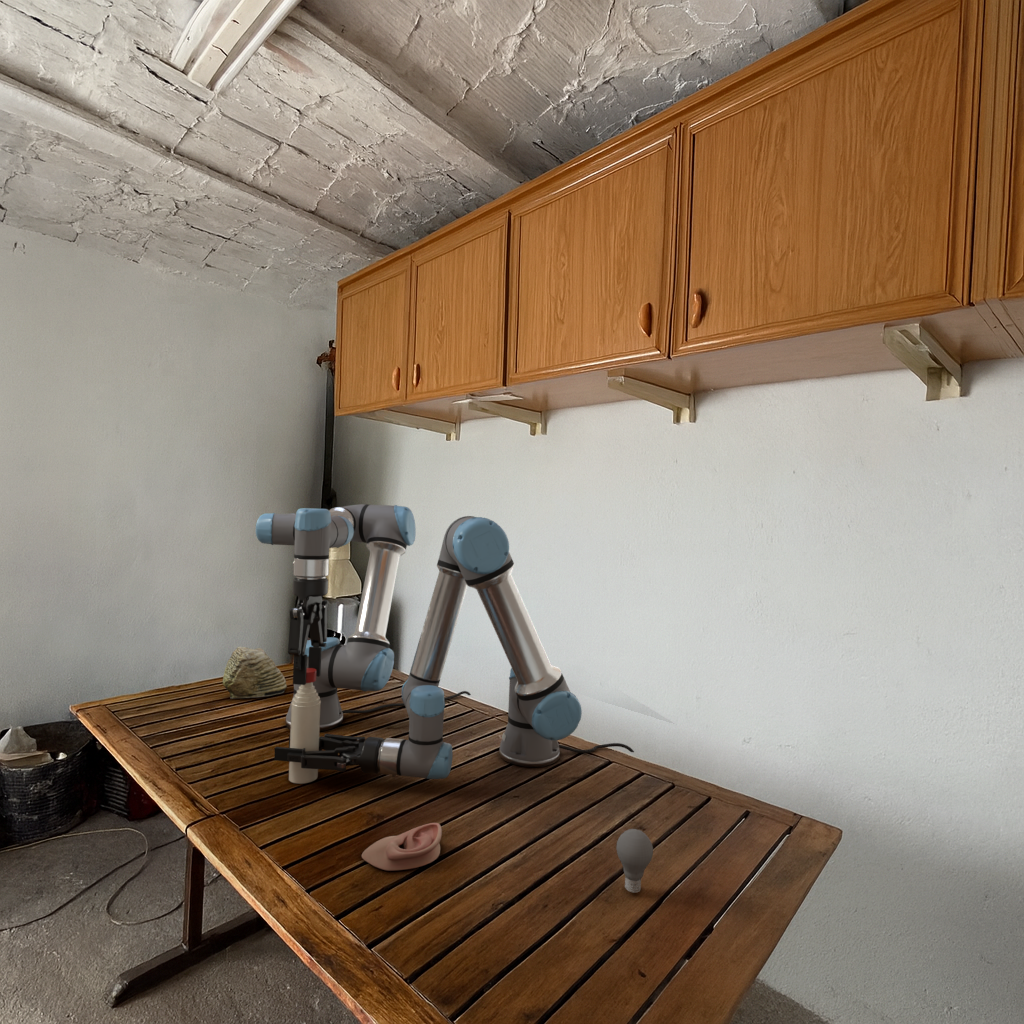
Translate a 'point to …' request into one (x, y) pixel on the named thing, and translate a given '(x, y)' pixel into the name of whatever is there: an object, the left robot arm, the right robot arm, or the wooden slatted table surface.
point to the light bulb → (634, 857)
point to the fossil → (252, 674)
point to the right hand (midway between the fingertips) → (282, 747)
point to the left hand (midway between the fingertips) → (306, 679)
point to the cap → (310, 675)
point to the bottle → (304, 730)
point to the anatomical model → (406, 849)
